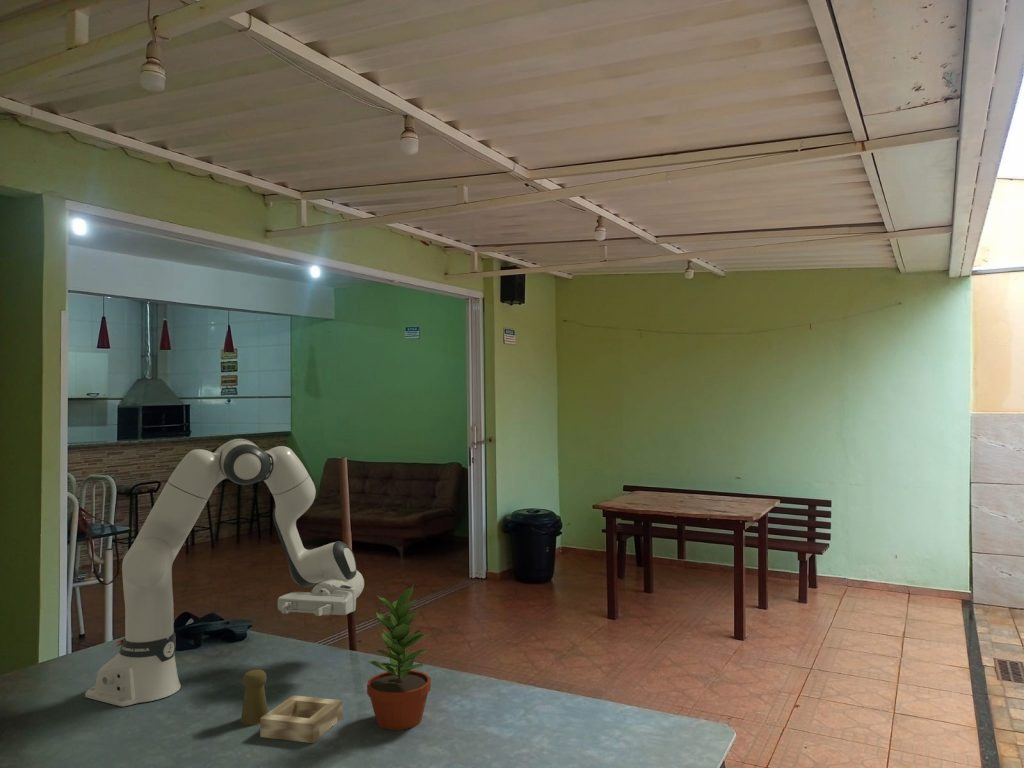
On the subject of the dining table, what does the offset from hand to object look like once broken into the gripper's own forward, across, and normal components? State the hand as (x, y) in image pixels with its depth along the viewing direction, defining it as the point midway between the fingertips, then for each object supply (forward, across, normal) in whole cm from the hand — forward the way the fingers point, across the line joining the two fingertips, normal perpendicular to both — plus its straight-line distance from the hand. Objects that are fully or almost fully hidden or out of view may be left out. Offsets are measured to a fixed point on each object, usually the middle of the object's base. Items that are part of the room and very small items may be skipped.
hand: (300, 611), depth 190 cm
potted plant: (+13, +33, +20) cm, 40 cm away
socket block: (+21, +13, +19) cm, 31 cm away
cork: (+20, 0, +19) cm, 28 cm away
